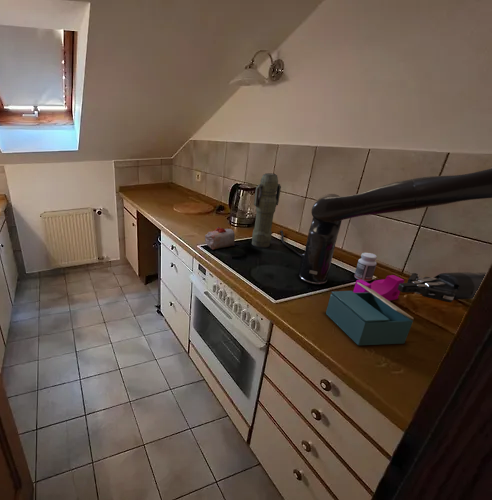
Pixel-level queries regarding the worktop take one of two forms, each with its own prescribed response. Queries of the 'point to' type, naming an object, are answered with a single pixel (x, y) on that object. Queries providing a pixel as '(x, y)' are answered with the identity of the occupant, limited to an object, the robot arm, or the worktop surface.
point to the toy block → (382, 287)
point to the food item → (220, 238)
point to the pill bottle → (366, 267)
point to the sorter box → (367, 318)
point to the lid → (385, 301)
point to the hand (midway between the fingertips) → (400, 288)
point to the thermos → (265, 209)
